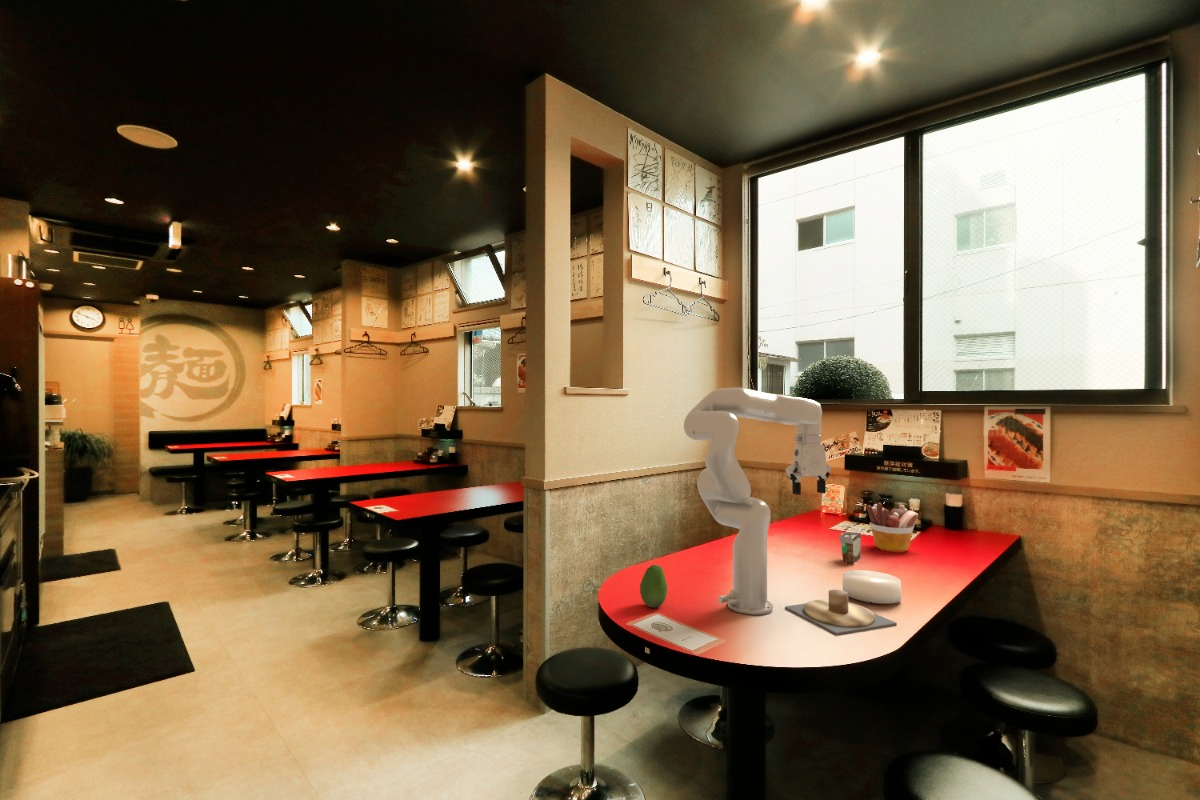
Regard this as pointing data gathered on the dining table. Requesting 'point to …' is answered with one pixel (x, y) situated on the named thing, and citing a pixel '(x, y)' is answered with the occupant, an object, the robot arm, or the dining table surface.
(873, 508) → the bucket of meat
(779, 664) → the dining table surface
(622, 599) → the dining table surface
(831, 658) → the dining table surface
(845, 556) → the food container
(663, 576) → the avocado
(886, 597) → the ceramic bowl
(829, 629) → the rubber mat
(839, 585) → the dining table surface
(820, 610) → the bamboo lid
